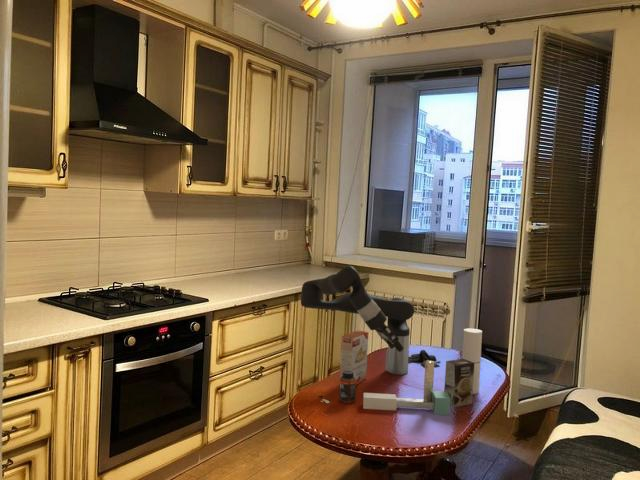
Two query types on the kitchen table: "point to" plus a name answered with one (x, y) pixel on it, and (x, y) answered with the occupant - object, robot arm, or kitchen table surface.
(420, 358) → the cloth
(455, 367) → the coffee box
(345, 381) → the supplement bottle
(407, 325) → the robot arm
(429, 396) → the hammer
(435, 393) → the socket
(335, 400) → the kitchen table surface
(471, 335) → the cylindrical container
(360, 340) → the cracker box
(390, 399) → the sleeve
